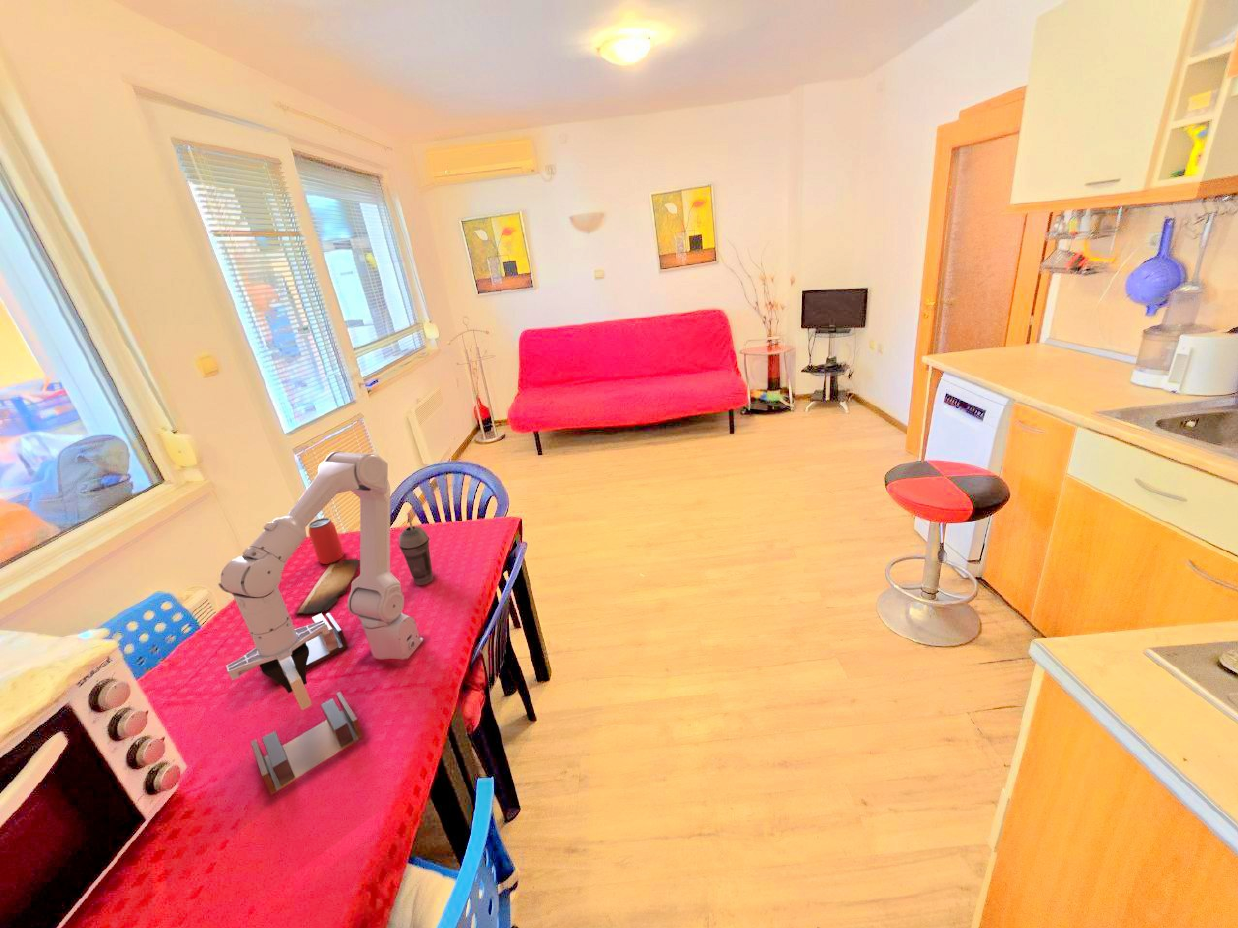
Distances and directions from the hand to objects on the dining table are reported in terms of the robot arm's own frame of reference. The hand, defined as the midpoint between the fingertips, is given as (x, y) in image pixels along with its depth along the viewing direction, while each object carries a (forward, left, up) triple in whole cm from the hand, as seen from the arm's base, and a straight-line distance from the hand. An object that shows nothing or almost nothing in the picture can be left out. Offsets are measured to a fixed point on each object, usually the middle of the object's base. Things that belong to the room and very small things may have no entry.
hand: (296, 685), depth 88 cm
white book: (0, 0, -2) cm, 2 cm away
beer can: (+40, -51, -10) cm, 66 cm away
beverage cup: (+5, -44, -10) cm, 46 cm away
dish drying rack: (+15, -15, -9) cm, 24 cm away
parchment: (+29, -39, -9) cm, 50 cm away
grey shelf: (-5, +5, -9) cm, 11 cm away
